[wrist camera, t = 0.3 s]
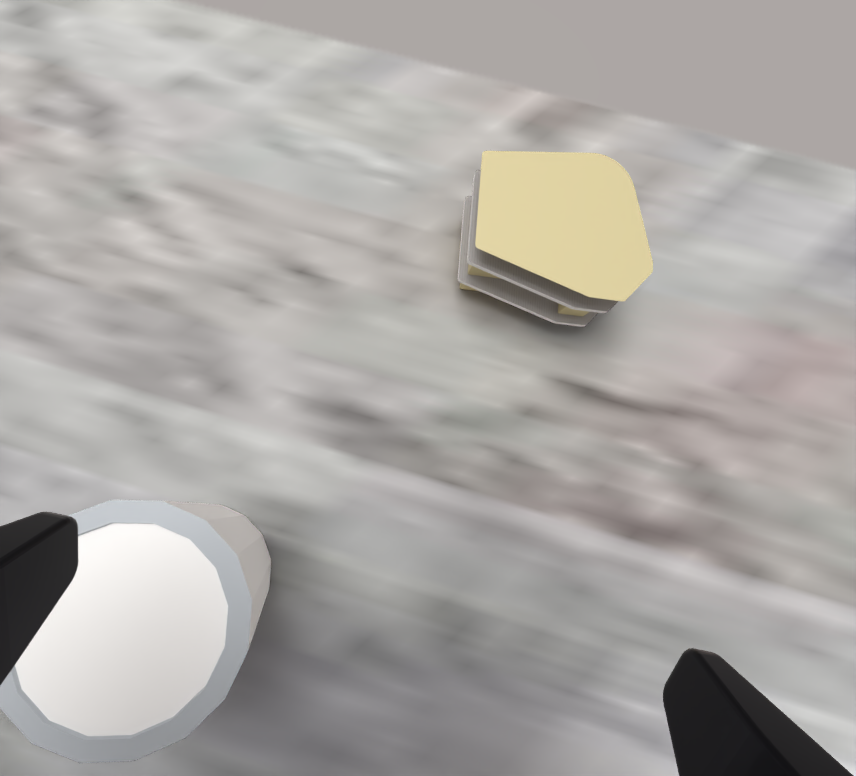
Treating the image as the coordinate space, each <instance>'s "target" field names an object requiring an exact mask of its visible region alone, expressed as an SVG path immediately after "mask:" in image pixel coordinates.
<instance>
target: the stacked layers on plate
mask: <svg viewBox="0 0 856 776" xmlns="http://www.w3.org/2000/svg"><path fill="white" fill-rule="evenodd" d="M652 271H653V261H652V257H651V253H650V249H649V245H648V240H647V236H646V232H645V228H644V224H643V220H642V216H641V212H640V208H639V204H638V200H637V196H636V192H635V188H634V184H633V182H632V180H631V178H630V176H629V174H628V173H627V171H626V170H625V169H624V168H623V167H622V166H621V165H620V164H619V163H618V162H616V161H615V160H613V159H611V158H609V157H607V156H605V155H601V154H597V153H567V152H517V151H484V152H483V153H482V163H481V170H477V171H476V172H475V174H474V177H473V190H472V196H467V197H466V198H465V200H464V206H463V218H462V231H461V243H460V255H459V267H458V281H459V282H460V289H465V290H473V291H480V292H483V293H485V294H487V295H490V296H492V297H494V298H497V299H499V300H501V301H504V302H506V303H508V304H511V305H513V306H515V307H517V308H520V309H522V310H524V311H527V312H529V313H531V314H534V315H536V316H538V317H541V318H543V319H545V320H548V321H550V322H552V323H556V324H564V325H572V326H580V327H584V326H585V325H587V324H588V323H589V322H590V321H591V320H592V319H593V318H594V317H595V316H596V315H597V314H598V313H606V312H608V311H609V310H610V309H611V308H612V307H613V306H614V305H615V304H616V303H617V302H618V301H625V300H626V299H627V298H628V297H629V296H630V295H631V294H632V293H633V292H634V291H635V290H636V289H637V288H638V287H639V286H640V285H641V284H642V283H643V282H644V280H645V279H646V278H647V277H648V276H649V275H650V274H651V273H652Z"/></svg>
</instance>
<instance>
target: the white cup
mask: <svg viewBox="0 0 856 776" xmlns="http://www.w3.org/2000/svg"><path fill="white" fill-rule="evenodd" d="M68 516H70V517H73V518H74V519H75V520H76V521H77V523H78V568H77V571H76V574H75V576H74V578H73V580H72V582H71V583H70V585H69V586H68V588H67V589H66V591H65V592H64V594H63V595H62V597H61V598H60V600H59V601H58V602H57V604H56V605H55V607H54V608H53V610H52V611H51V613H50V614H49V616H48V617H47V619H46V620H45V622H44V623H43V625H42V626H41V627H40V629H39V630H38V632H37V633H36V635H35V636H34V638H33V639H32V641H31V642H30V644H29V645H28V647H27V648H26V650H25V651H24V652H23V654H22V655H21V657H20V658H19V660H18V661H17V663H16V664H15V666H14V667H13V669H12V670H11V672H10V673H9V674H8V676H7V677H6V678H5V680H4V681H3V683H2V684H1V685H0V709H1V710H2V711H3V712H4V713H5V714H6V716H7V717H8V718H9V719H10V720H11V721H12V722H13V723H14V725H15V726H16V727H17V728H18V729H19V730H20V731H21V732H22V734H23V735H24V736H25V737H26V738H27V739H28V740H29V741H30V743H32V744H34V745H36V746H39V747H41V748H44V749H46V750H49V751H51V752H54V753H56V754H59V755H61V756H63V757H66V758H68V759H71V760H73V761H76V762H78V763H96V762H122V761H135V760H138V759H140V758H142V757H144V756H147V755H149V754H151V753H153V752H155V751H158V750H160V749H162V748H164V747H167V746H169V745H171V744H173V743H176V742H178V741H180V740H182V739H185V738H186V737H187V736H188V735H189V734H190V733H191V732H192V731H193V730H194V729H195V728H196V727H197V726H198V725H199V724H200V723H201V722H202V721H203V720H204V719H205V718H206V717H207V716H208V715H209V714H210V713H212V712H213V711H214V710H215V709H216V708H217V707H218V706H219V705H220V704H221V703H222V702H223V701H224V700H225V698H226V696H227V694H228V692H229V690H230V688H231V686H232V684H233V682H234V679H235V677H236V675H237V673H238V671H239V669H240V667H241V665H242V663H243V661H244V659H245V656H246V654H247V652H248V650H249V647H250V644H251V641H252V638H253V635H254V632H255V629H256V626H257V623H258V620H259V618H260V615H261V612H262V609H263V606H264V603H265V600H266V597H267V594H268V591H269V587H270V573H271V558H270V555H269V552H268V549H267V546H266V543H265V540H264V537H263V535H262V534H261V532H260V531H259V530H258V529H257V528H256V527H255V526H254V525H253V524H252V523H251V521H250V520H249V519H248V518H247V517H246V516H245V515H243V514H241V513H238V512H236V511H234V510H232V509H229V508H227V507H225V506H223V505H219V504H204V503H189V502H173V501H149V500H110V501H107V502H104V503H101V504H99V505H96V506H93V507H90V508H87V509H85V510H82V511H79V512H76V513H73V514H71V515H68Z"/></svg>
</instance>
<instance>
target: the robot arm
mask: <svg viewBox="0 0 856 776" xmlns="http://www.w3.org/2000/svg"><path fill="white" fill-rule="evenodd" d="M77 568H78V523H77V521H76V520H75V519H74V518H73V517H70V516H66V515H61V514H57V513H52V512H40V513H37V514H34V515H31V516H28V517H26V518H23V519H20V520H17V521H14V522H11V523H9V524H6V525H3V526H0V685H1V684H2V683H3V681H4V680H5V678H6V677H7V676H8V674H9V673H10V672H11V670H12V669H13V667H14V666H15V664H16V663H17V661H18V660H19V658H20V657H21V655H22V654H23V652H24V651H25V650H26V648H27V647H28V645H29V644H30V642H31V641H32V639H33V638H34V636H35V635H36V633H37V632H38V630H39V629H40V627H41V626H42V625H43V623H44V622H45V620H46V619H47V617H48V616H49V614H50V613H51V611H52V610H53V608H54V607H55V605H56V604H57V602H58V601H59V600H60V598H61V597H62V595H63V594H64V592H65V591H66V589H67V588H68V586H69V585H70V583H71V582H72V580H73V578H74V576H75V574H76V571H77ZM663 702H664V708H665V712H666V717H667V721H668V726H669V731H670V735H671V740H672V744H673V749H674V754H675V758H676V763H677V768H678V772H679V776H853V775H852V774H851V773H850V772H849V771H848V770H846V769H845V768H844V767H843V766H842V765H841V764H840V763H839V762H838V761H836V760H835V759H834V758H833V757H832V756H831V755H830V754H829V753H827V752H826V751H825V750H824V749H823V748H822V747H821V746H820V745H819V744H817V743H816V742H815V741H814V740H813V739H812V738H811V737H810V736H808V735H807V734H806V733H805V732H804V731H803V730H802V729H801V728H800V727H798V726H797V725H796V724H795V723H794V722H793V721H792V720H791V719H789V718H788V717H787V716H786V715H785V714H784V713H783V712H782V711H781V710H779V709H778V708H777V707H776V706H775V705H774V704H773V703H772V702H771V701H769V700H768V699H767V698H766V697H765V696H764V695H763V694H762V693H760V692H759V691H758V690H757V689H756V688H755V687H754V686H753V685H752V684H750V683H749V682H748V681H747V680H746V679H745V678H744V677H743V676H741V675H740V674H739V673H738V672H737V671H736V670H735V669H734V668H733V667H731V666H730V665H729V664H728V663H727V662H726V661H725V660H724V659H723V658H721V657H720V656H719V655H717V654H715V653H712V652H708V651H703V650H698V649H693V648H692V649H688V650H686V651H684V653H683V654H682V655H681V657H680V659H679V661H678V662H677V664H676V666H675V668H674V669H673V671H672V673H671V675H670V676H669V678H668V680H667V682H666V684H665V687H664V691H663Z"/></svg>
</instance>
